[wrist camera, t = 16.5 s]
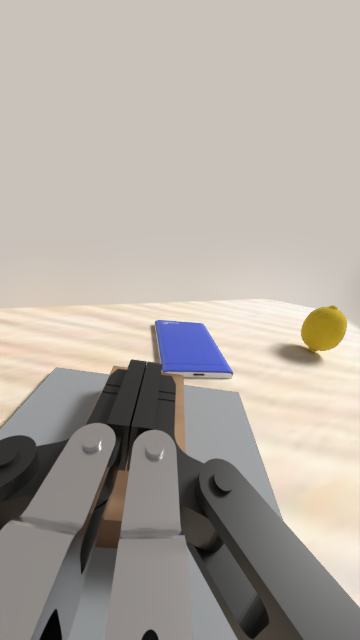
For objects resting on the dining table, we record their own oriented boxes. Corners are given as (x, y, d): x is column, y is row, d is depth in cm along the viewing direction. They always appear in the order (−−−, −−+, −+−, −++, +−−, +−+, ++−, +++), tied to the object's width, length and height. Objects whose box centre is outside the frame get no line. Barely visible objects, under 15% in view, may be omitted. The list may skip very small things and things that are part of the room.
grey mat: (-280, 760, 5) (-297, 757, 5) (56, 372, 20) (56, 367, 20) (361, 774, 7) (370, 773, 6) (236, 396, 21) (238, 392, 21)
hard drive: (155, 319, 33) (163, 369, 22) (204, 323, 35) (234, 371, 24) (154, 328, 33) (161, 381, 22) (202, 331, 35) (230, 382, 24)
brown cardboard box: (42, 512, 8) (113, 364, 18) (48, 543, 9) (112, 388, 19) (188, 524, 9) (183, 373, 18) (178, 552, 10) (178, 396, 19)
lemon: (310, 342, 37) (330, 300, 34) (339, 360, 33) (366, 314, 29) (286, 342, 36) (305, 298, 32) (313, 361, 31) (339, 312, 28)
